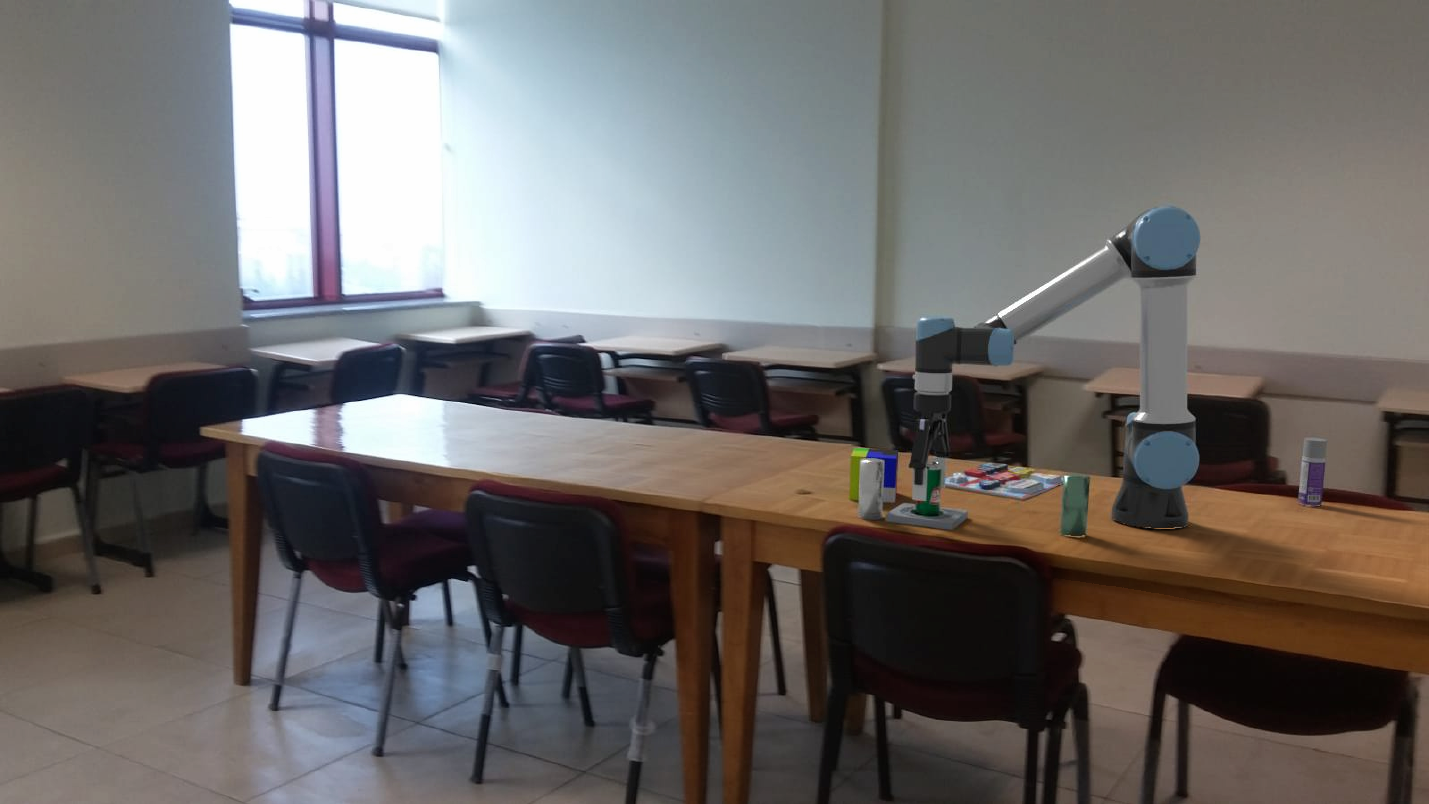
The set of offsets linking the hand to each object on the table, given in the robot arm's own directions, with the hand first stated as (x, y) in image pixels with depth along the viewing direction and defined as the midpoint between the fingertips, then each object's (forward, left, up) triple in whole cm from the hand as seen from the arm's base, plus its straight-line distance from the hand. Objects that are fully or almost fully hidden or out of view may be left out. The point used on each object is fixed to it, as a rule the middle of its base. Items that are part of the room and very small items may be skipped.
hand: (929, 493), depth 237 cm
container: (-71, -59, -6) cm, 92 cm away
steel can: (+11, +4, -5) cm, 13 cm away
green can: (-29, -3, -5) cm, 30 cm away
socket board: (0, 0, -5) cm, 6 cm away
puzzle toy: (+17, -15, -6) cm, 24 cm away
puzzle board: (-5, -46, -6) cm, 47 cm away
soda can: (0, 0, -6) cm, 6 cm away
